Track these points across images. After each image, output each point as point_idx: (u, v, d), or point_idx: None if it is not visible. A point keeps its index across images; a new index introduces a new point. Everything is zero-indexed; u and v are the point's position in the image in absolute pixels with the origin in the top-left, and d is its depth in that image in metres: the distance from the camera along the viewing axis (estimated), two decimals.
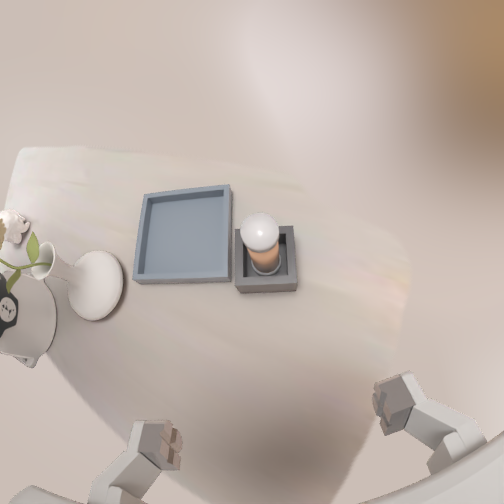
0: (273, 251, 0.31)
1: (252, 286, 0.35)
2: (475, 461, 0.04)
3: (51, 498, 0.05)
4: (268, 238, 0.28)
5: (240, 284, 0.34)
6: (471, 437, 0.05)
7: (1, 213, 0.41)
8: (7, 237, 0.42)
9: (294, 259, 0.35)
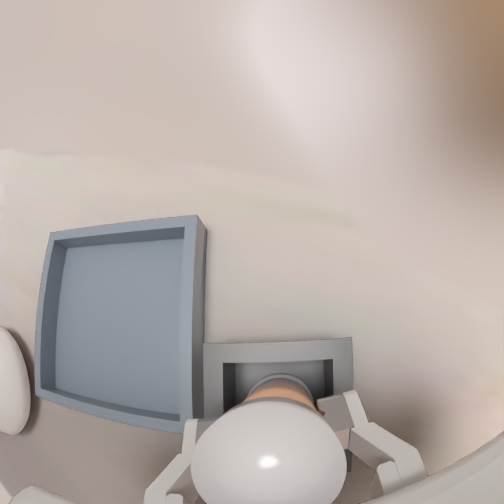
0: None
1: None
2: (475, 461, 0.04)
3: (51, 498, 0.05)
4: None
5: None
6: (409, 469, 0.05)
7: None
8: None
9: None
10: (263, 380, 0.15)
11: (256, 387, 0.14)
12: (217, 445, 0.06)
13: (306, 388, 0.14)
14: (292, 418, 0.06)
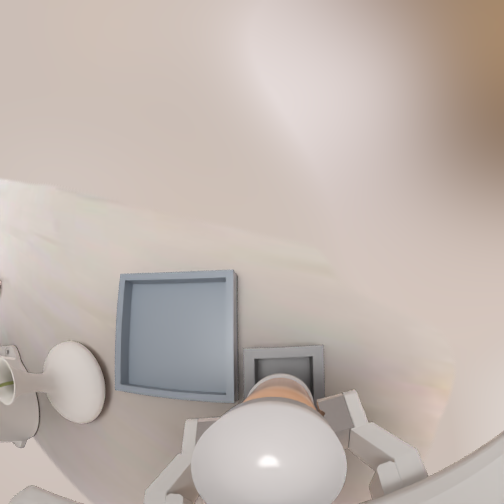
0: None
1: None
2: (475, 461, 0.04)
3: (51, 498, 0.05)
4: None
5: None
6: (409, 469, 0.05)
7: None
8: None
9: (323, 391, 0.23)
10: (263, 380, 0.15)
11: (256, 387, 0.14)
12: (217, 445, 0.06)
13: (306, 388, 0.14)
14: (292, 418, 0.06)
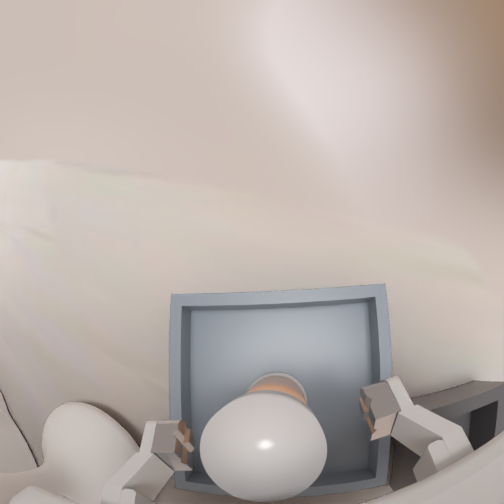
0: None
1: None
2: (475, 461, 0.04)
3: (51, 498, 0.05)
4: (291, 480, 0.06)
5: None
6: (457, 445, 0.05)
7: None
8: None
9: None
10: (261, 378, 0.16)
11: None
12: (222, 429, 0.07)
13: (300, 385, 0.16)
14: (282, 406, 0.07)
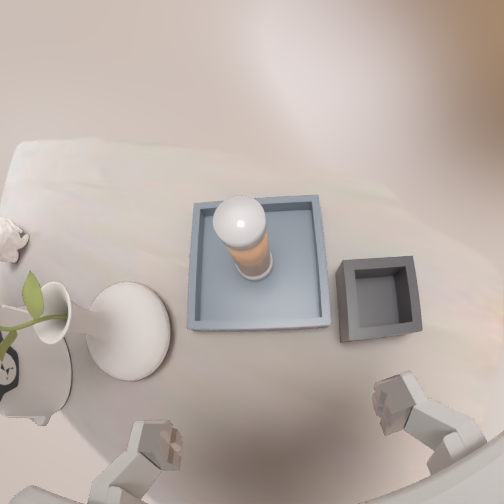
0: (259, 248, 0.23)
1: (368, 338, 0.24)
2: (475, 461, 0.04)
3: (51, 498, 0.05)
4: (250, 230, 0.20)
5: (356, 338, 0.23)
6: (471, 437, 0.05)
7: None
8: None
9: (418, 300, 0.23)
10: None
11: None
12: (222, 209, 0.21)
13: (268, 249, 0.30)
14: (246, 198, 0.21)
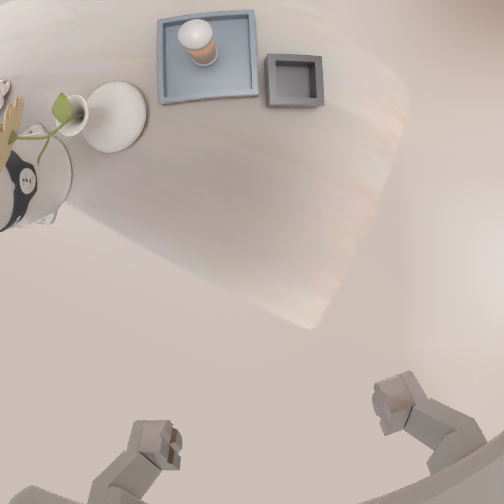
0: (208, 48, 0.27)
1: (284, 104, 0.35)
2: (475, 461, 0.04)
3: (50, 498, 0.05)
4: (202, 39, 0.24)
5: (275, 103, 0.34)
6: (471, 437, 0.05)
7: None
8: None
9: (322, 85, 0.33)
10: None
11: None
12: (184, 28, 0.23)
13: (214, 46, 0.32)
14: (199, 21, 0.23)
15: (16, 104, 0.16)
